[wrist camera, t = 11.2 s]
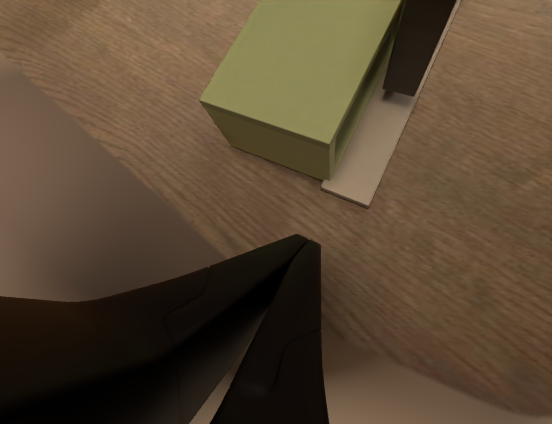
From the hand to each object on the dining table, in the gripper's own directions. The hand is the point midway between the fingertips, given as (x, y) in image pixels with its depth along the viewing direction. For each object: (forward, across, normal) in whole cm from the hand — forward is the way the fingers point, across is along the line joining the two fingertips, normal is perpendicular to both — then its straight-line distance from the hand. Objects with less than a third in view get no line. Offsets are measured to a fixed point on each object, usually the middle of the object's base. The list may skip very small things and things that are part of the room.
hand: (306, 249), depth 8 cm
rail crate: (+15, +4, -4) cm, 16 cm away
